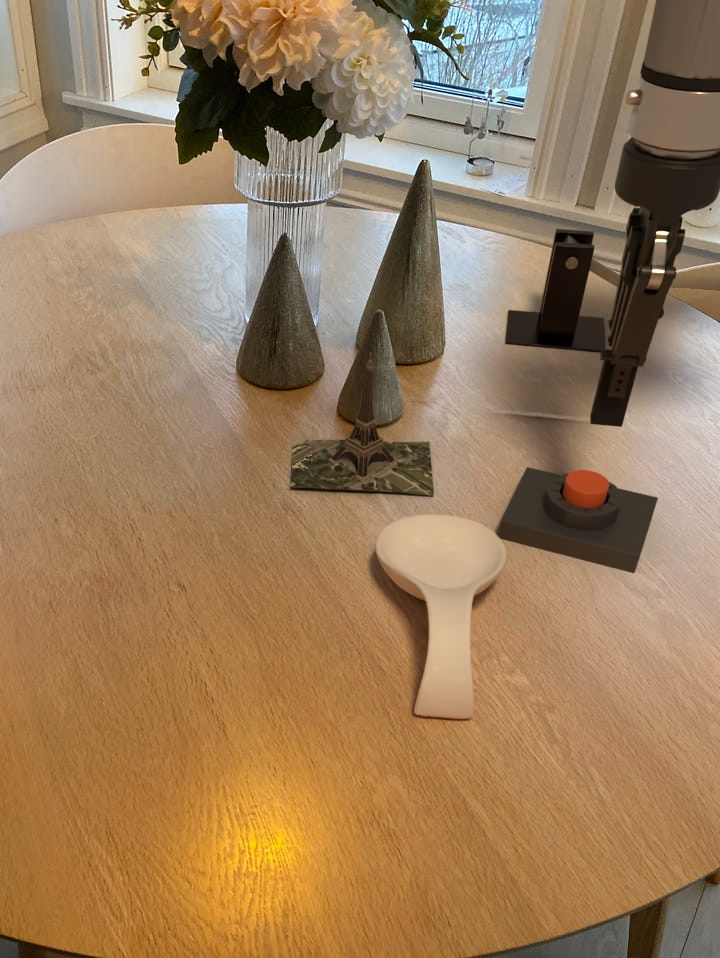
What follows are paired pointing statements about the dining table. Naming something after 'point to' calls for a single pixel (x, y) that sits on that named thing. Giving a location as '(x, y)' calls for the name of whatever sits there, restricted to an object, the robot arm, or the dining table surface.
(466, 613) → the spoon rest
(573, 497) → the button
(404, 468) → the eiffel tower figurine
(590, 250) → the bracket
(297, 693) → the dining table surface
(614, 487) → the button box
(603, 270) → the lever
